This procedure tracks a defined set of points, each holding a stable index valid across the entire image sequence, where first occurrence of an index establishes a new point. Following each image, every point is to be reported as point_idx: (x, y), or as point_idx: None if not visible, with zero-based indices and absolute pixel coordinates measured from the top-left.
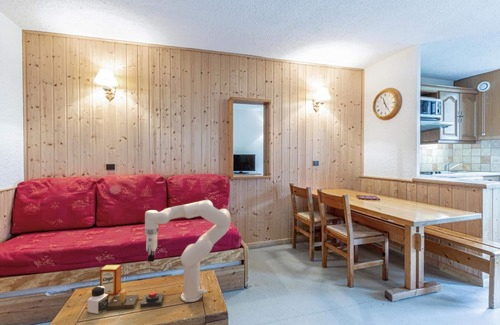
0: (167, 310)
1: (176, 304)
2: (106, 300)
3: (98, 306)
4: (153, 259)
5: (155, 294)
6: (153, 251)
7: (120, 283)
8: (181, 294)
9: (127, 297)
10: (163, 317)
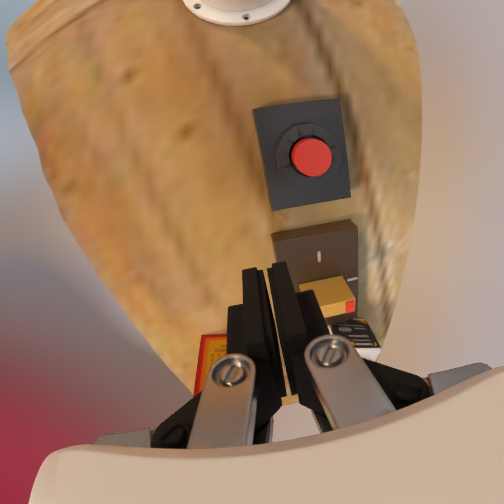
0: (362, 64)
1: (313, 33)
2: (343, 335)
3: (374, 336)
4: (290, 279)
5: (314, 139)
6: (251, 408)
7: (203, 354)
8: (237, 22)
9: (299, 279)
10: (405, 75)
